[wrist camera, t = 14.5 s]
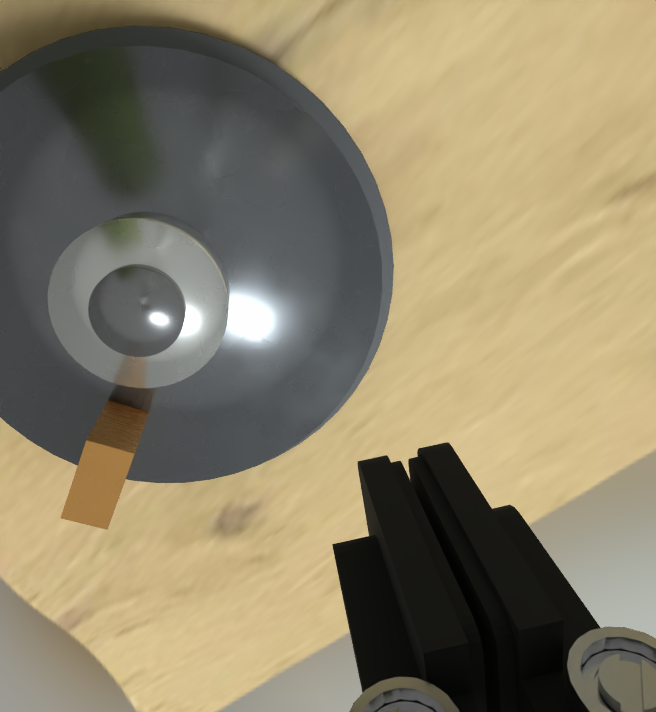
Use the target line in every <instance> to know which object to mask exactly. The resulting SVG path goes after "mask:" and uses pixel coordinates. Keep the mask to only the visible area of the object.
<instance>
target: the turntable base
mask: <svg viewBox="0 0 656 712" xmlns="http://www.w3.org/2000/svg"><path fill="white" fill-rule="evenodd" d="M123 46H154V47H163V48H172V49H181V50H185V51H189V52H193V53H197V54H201V55H205V56H209V57H213V58H216V59H218V60H221V61H223V62H226V63H228V64H230V65H233V66H235V67H238V68H240V69H243V70H245V71H247V72H249V73H251V74H252V75H254V76H256V77H258V78H259V79H261V80H263V81H265V82H267V83H268V84H270V85H272V86H274V87H275V88H276V89H278V90H279V91H280V92H282V93H283V94H284V95H286V96H287V97H288V98H290V99H291V100H292V101H294V102H295V103H296V104H298V105H299V106H300V107H301V108H302V109H303V110H304V111H305V112H306V113H307V114H308V115H310V116H311V117H312V118H313V119H314V120H315V121H316V122H317V123H318V124H319V125H320V126H321V127H322V128H323V129H324V131H325V132H326V133H327V134H328V136H329V137H330V138H331V139H332V141H333V142H334V143H335V145H336V146H337V147H338V148H339V150H340V151H341V152H342V153H343V155H344V157H345V158H346V160H347V162H348V163H349V165H350V167H351V169H352V170H353V172H354V174H355V175H356V177H357V179H358V180H359V183H360V185H361V187H362V190H363V192H364V194H365V197H366V199H367V201H368V204H369V206H370V209H371V213H372V216H373V220H374V223H375V227H376V230H377V234H378V239H379V246H380V253H381V260H382V297H381V305H380V314H379V319H378V323H377V327H376V331H375V335H374V339H373V342H372V345H371V347H370V350H369V352H368V355H367V358H366V360H365V363H364V365H363V367H362V369H361V371H360V372H359V374H358V376H357V378H356V380H355V382H354V383H353V385H352V387H351V388H350V390H349V391H348V392H347V394H346V395H345V397H344V398H343V399H342V401H341V402H340V403H339V405H338V406H337V407H336V408H335V409H334V411H333V412H332V413H331V414H330V415H329V416H328V417H327V418H326V419H325V420H324V421H323V422H322V423H321V425H319V426H318V427H317V428H316V429H315V430H313V431H312V432H311V433H310V434H309V435H307V436H306V437H305V438H304V439H303V440H301V441H300V442H298V443H297V444H295V445H294V446H292V447H291V448H293V447H295V446H297V445H298V444H300V443H301V442H303V441H304V440H305V439H307V438H308V437H309V436H311V435H312V434H313V433H315V432H316V431H317V430H319V429H320V428H321V427H322V426H323V425H324V424H325V423H326V422H327V421H328V420H329V419H330V418H331V417H333V416H334V415H335V414H336V413H337V412H338V411H339V410H340V408H341V407H342V406H343V405H344V403H345V402H346V401H347V400H348V399H349V397H350V396H351V395H352V394H353V392H354V391H355V390H356V388H357V386H358V385H359V383H360V382H361V380H362V379H363V377H364V375H365V374H366V372H367V371H368V369H369V367H370V365H371V362H372V360H373V358H374V356H375V354H376V352H377V350H378V347H379V345H380V342H381V339H382V336H383V332H384V329H385V326H386V323H387V319H388V314H389V308H390V303H391V297H392V287H393V268H394V265H393V252H392V239H391V233H390V229H389V224H388V219H387V214H386V210H385V207H384V204H383V201H382V198H381V195H380V192H379V189H378V186H377V184H376V181H375V179H374V177H373V175H372V173H371V171H370V169H369V167H368V165H367V163H366V161H365V159H364V157H363V155H362V153H361V151H360V150H359V148H358V147H357V145H356V144H355V142H354V141H353V139H352V138H351V136H350V135H349V133H348V132H347V130H346V129H345V127H344V126H343V125H342V124H341V123H340V121H339V120H338V119H337V118H336V117H335V116H334V115H333V114H332V112H331V111H330V110H329V109H328V108H327V107H326V106H325V104H324V103H323V102H322V101H321V100H320V99H318V98H317V97H316V96H315V95H314V94H313V93H312V92H310V91H309V90H308V89H307V88H306V87H305V86H304V85H302V84H301V83H300V82H299V81H298V80H297V79H295V78H294V77H292V76H291V75H289V74H288V73H286V72H285V71H283V70H282V69H280V68H279V67H277V66H276V65H274V64H273V63H271V62H270V61H268V60H266V59H264V58H262V57H260V56H258V55H256V54H254V53H252V52H250V51H248V50H246V49H244V48H242V47H240V46H238V45H235V44H232V43H229V42H226V41H223V40H220V39H217V38H214V37H211V36H208V35H205V34H202V33H196V32H191V31H185V30H180V29H174V28H169V27H147V26H127V27H118V28H108V29H99V30H94V31H90V32H87V33H83V34H79V35H75V36H71V37H67V38H64V39H61V40H59V41H57V42H54V43H52V44H50V45H47V46H45V47H43V48H40V49H38V50H36V51H34V52H31V53H30V54H28V55H27V56H25V57H23V58H22V59H20V60H19V61H17V62H16V63H14V64H12V65H11V66H9V67H8V68H6V69H5V70H3V71H2V72H1V73H0V92H1V91H3V90H4V89H5V88H7V87H8V86H9V85H11V84H12V83H13V82H15V81H16V80H17V79H19V78H21V77H23V76H25V75H27V74H29V73H31V72H32V71H34V70H36V69H38V68H40V67H42V66H44V65H46V64H48V63H51V62H54V61H57V60H60V59H63V58H65V57H68V56H71V55H74V54H77V53H81V52H87V51H92V50H98V49H103V48H109V47H123ZM291 448H289V449H288V450H290V449H291ZM288 450H286V451H288ZM286 451H285V452H286ZM283 453H284V452H283ZM283 453H282V454H283ZM280 455H281V454H280ZM278 456H279V455H278ZM276 457H277V456H276ZM274 458H275V457H274ZM272 459H273V458H272ZM270 460H271V459H270Z"/></svg>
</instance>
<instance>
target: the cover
mask: <svg viewBox="0 0 656 712" xmlns="http://www.w3.org/2000/svg"><path fill="white" fill-rule="evenodd" d="M229 300H230V287H229V279H228V275H227V271H226V268H225V266H224V263H223V261H222V259H221V257H220V255H219V254H218V252H217V250H216V249H215V248H214V246H213V245H212V244H211V242H210V241H209V240H208V239H207V238H206V237H205V236H204V235H203V234H202V233H200V232H199V231H198V230H197V229H195V228H194V227H192V226H191V225H189V224H187V223H186V222H184V221H182V220H179V219H177V218H175V217H172V216H169V215H165V214H161V213H155V212H133V213H127V214H123V215H119V216H117V217H114V218H111V219H109V220H107V221H106V222H104V223H102V224H100V225H98V226H96V227H94V228H92V229H91V230H89V231H87V232H85V233H83V234H82V235H80V236H79V237H78V238H76V239H75V240H74V241H73V242H72V243H71V244H70V245H69V246H68V247H67V248H66V249H65V250H64V252H63V253H62V254H61V256H60V257H59V259H58V261H57V263H56V264H55V266H54V269H53V271H52V274H51V277H50V282H49V287H48V309H49V314H50V318H51V322H52V325H53V328H54V330H55V333H56V335H57V336H58V338H59V340H60V342H61V344H62V345H63V346H64V348H65V349H66V350H67V352H68V353H69V354H70V355H71V356H72V357H73V358H74V359H75V360H76V361H77V362H78V363H79V364H80V365H82V366H83V367H84V368H85V369H87V370H88V371H90V372H91V373H93V374H94V375H96V376H98V377H100V378H102V379H104V380H107V381H109V382H112V383H115V384H118V385H122V386H127V387H134V388H155V387H162V386H166V385H171V384H174V383H176V382H179V381H182V380H184V379H185V378H187V377H189V376H191V375H193V374H194V373H195V372H197V371H198V370H200V369H201V368H202V367H203V366H204V365H205V364H206V363H207V362H208V361H209V360H210V359H211V358H212V356H213V355H214V354H215V352H216V351H217V349H218V347H219V346H220V344H221V341H222V339H223V337H224V334H225V330H226V327H227V321H228V312H229Z"/></svg>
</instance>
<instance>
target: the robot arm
mask: <svg viewBox="0 0 656 712" xmlns="http://www.w3.org/2000/svg"><path fill="white" fill-rule="evenodd" d="M417 454H418V457H415V458H411V459H409V472H410V479H409V477H408V475H407V473H406V471H405V469H404V466H403V464H402V462H401V461H397V462H392V463H391V462H390V460H389V458H388V456H387V455H386V456H381V457H377V458H372V459H367V460H363V461H358V470H359V477H360V483H361V489H362V495H363V501H364V507H365V513H366V519H367V525H368V532H369V536H368V537H364V538H359V539H355V540H350V541H346V542H341V543H337V544H333V550H334V555H335V560H336V565H337V570H338V575H339V580H340V585H341V590H342V595H343V600H344V605H345V610H346V615H347V620H348V624H349V629H350V634H351V639H352V643H353V648H354V653H355V658H356V663H357V667H358V673H359V678H360V682H361V687H362V692H363V693H362V694H361V695H360V697H359V698H358V699H357V700H356V701H355V702H354V703H353V706H352V708H351V710H350V712H656V638H654V637H652V636H650V635H648V634H646V633H644V632H640V631H636V630H633V629H629V628H625V627H603V628H600V626H599V625H598V624H597V622H596V621H595V619H594V618H593V617H592V615H591V614H590V612H589V611H588V610H587V608H586V607H585V605H584V604H583V602H582V601H581V600H580V598H579V597H578V595H577V594H576V592H575V591H574V590H573V588H572V587H571V585H570V584H569V582H568V581H567V580H566V578H565V577H564V575H563V574H562V573H561V571H560V570H559V568H558V567H557V566H556V564H555V563H554V561H553V560H552V558H551V557H550V556H549V554H548V553H547V551H546V550H545V549H544V547H543V546H542V544H541V543H540V541H539V540H538V539H537V537H536V536H535V534H534V533H533V532H532V530H531V529H530V527H529V526H528V524H527V523H526V522H525V520H524V519H523V517H522V516H521V515H520V513H519V512H518V511H517V510H516V509H515V507H513V506H511V505H507V506H503V507H498V508H494V509H492V508H491V507H490V505H489V504H488V502H487V501H486V499H485V498H484V496H483V494H482V493H481V491H480V490H479V488H478V487H477V485H476V483H475V482H474V480H473V479H472V477H471V476H470V474H469V473H468V471H467V469H466V468H465V466H464V465H463V463H462V462H461V460H460V459H459V457H458V455H457V454H456V452H455V451H454V449H453V448H452V446H451V445H450V444H449V443H442V444H438V445H433V446H428V447H423V448H419V449H418V453H417ZM410 481H411V482H410Z"/></svg>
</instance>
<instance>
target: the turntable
mask: <svg viewBox="0 0 656 712" xmlns="http://www.w3.org/2000/svg"><path fill="white" fill-rule="evenodd" d="M133 212H155V213H161V214H165V215H169V216H172V217H175V218H177V219H179V220H182V221H184V222H186V223H187V224H189V225H191V226H192V227H194V228H195V229H197V230H198V231H199V232H200V233H202V234H203V235H204V236H205V237H206V238H207V239H208V240H209V241H210V242H211V244H212V245H213V246H214V248H215V249H216V250H217V252H218V254H219V255H220V257H221V259H222V261H223V263H224V266H225V268H226V271H227V275H228V279H229V287H230V300H229V312H228V321H227V327H226V330H225V334H224V337H223V339H222V341H221V344H220V346H219V347H218V349H217V351H216V352H215V354H214V355H213V356H212V358H211V359H210V360H209V361H208V362H207V363H206V364H205V365H204V366H203V367H202V368H201V369H200V370H198V371H197V372H195V373H194V374H193V375H191V376H189V377H187V378H185V379H184V380H182V381H179V382H176V383H174V384H171V385H166V386H162V387H155V388H134V387H127V386H122V385H118V384H115V383H112V382H109V381H107V380H104V379H102V378H100V377H98V376H96V375H94V374H93V373H91V372H90V371H88V370H87V369H85V368H84V367H83V366H82V365H80V364H79V363H78V362H77V361H76V360H75V359H74V358H73V357H72V356H71V355H70V354H69V353H68V352H67V350H66V349H65V348H64V346H63V345H62V344H61V342H60V340H59V338H58V336H57V335H56V333H55V330H54V328H53V325H52V322H51V318H50V314H49V309H48V287H49V282H50V277H51V274H52V271H53V269H54V266H55V264H56V263H57V261H58V259H59V257H60V256H61V254H62V253H63V252H64V250H65V249H66V248H67V247H68V246H69V245H70V244H71V243H72V242H73V241H74V240H75V239H76V238H78V237H79V236H80V235H82V234H83V233H85V232H87V231H89V230H91V229H92V228H94V227H96V226H98V225H100V224H102V223H104V222H106V221H107V220H109V219H111V218H114V217H117V216H119V215H123V214H127V213H133ZM381 297H382V260H381V253H380V246H379V239H378V234H377V230H376V227H375V223H374V220H373V216H372V213H371V209H370V206H369V204H368V201H367V199H366V197H365V194H364V192H363V190H362V187H361V185H360V183H359V180H358V179H357V177H356V175H355V174H354V172H353V170H352V169H351V167H350V165H349V163H348V162H347V160H346V158H345V157H344V155H343V153H342V152H341V151H340V150H339V148H338V147H337V146H336V145H335V143H334V142H333V141H332V139H331V138H330V137H329V136H328V134H327V133H326V132H325V131H324V129H323V128H322V127H321V126H320V125H319V124H318V123H317V122H316V121H315V120H314V119H313V118H312V117H311V116H310V115H308V114H307V113H306V112H305V111H304V110H303V109H302V108H301V107H300V106H299V105H298V104H296V103H295V102H294V101H292V100H291V99H290V98H288V97H287V96H286V95H284V94H283V93H282V92H280V91H279V90H278V89H276V88H275V87H274V86H272V85H270V84H268V83H267V82H265V81H263V80H261V79H259V78H258V77H256V76H254V75H252V74H251V73H249V72H247V71H245V70H243V69H240V68H238V67H235V66H233V65H230V64H228V63H226V62H223V61H221V60H218V59H216V58H213V57H209V56H205V55H201V54H197V53H193V52H189V51H185V50H181V49H172V48H163V47H154V46H123V47H109V48H103V49H98V50H92V51H87V52H81V53H77V54H74V55H71V56H68V57H65V58H63V59H60V60H57V61H54V62H51V63H48V64H46V65H44V66H42V67H40V68H38V69H36V70H34V71H32V72H31V73H29V74H27V75H25V76H23V77H21V78H19V79H17V80H16V81H15V82H13V83H12V84H11V85H9V86H8V87H7V88H5V89H4V90H3V91H1V92H0V417H1V418H2V419H3V420H4V421H5V422H6V423H7V424H9V425H10V426H11V427H13V428H14V429H15V430H17V431H18V432H19V433H21V434H22V435H23V436H25V437H26V438H27V439H28V440H30V441H32V442H33V443H35V444H37V445H38V446H40V447H42V448H43V449H45V450H47V451H48V452H50V453H52V454H53V455H56V456H58V457H60V458H62V459H64V460H67V461H69V462H71V463H73V464H75V465H78V467H77V470H76V473H75V476H74V479H73V482H72V485H71V488H70V491H69V494H68V497H67V500H66V503H65V506H64V509H63V512H62V515H61V518H62V519H66V520H70V521H74V522H78V523H82V524H87V525H91V526H95V527H99V528H103V529H108V526H109V524H110V521H111V518H112V515H113V513H114V510H115V507H116V504H117V501H118V499H119V496H120V493H121V490H122V488H123V485H124V482H125V479H128V480H134V481H144V482H154V483H185V482H194V481H202V480H210V479H214V478H218V477H223V476H227V475H231V474H235V473H238V472H241V471H243V470H246V469H249V468H252V467H255V466H257V465H260V464H262V463H264V462H266V461H268V460H270V459H272V458H274V457H276V456H278V455H280V454H282V453H283V452H285V451H286V450H288V449H289V448H291V447H292V446H294V445H295V444H297V443H298V442H300V441H301V440H303V439H304V438H305V437H306V436H307V435H309V434H310V433H311V432H312V431H313V430H315V429H316V428H317V427H318V426H319V425H321V423H322V422H323V421H324V420H325V419H326V418H327V417H328V416H329V415H330V414H331V413H332V412H333V411H334V409H335V408H336V407H337V406H338V405H339V403H340V402H341V401H342V399H343V398H344V397H345V395H346V394H347V392H348V391H349V390H350V388H351V387H352V385H353V383H354V382H355V380H356V378H357V376H358V374H359V372H360V371H361V369H362V367H363V365H364V363H365V360H366V358H367V355H368V352H369V350H370V347H371V345H372V342H373V339H374V335H375V331H376V327H377V323H378V319H379V314H380V305H381Z"/></svg>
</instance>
